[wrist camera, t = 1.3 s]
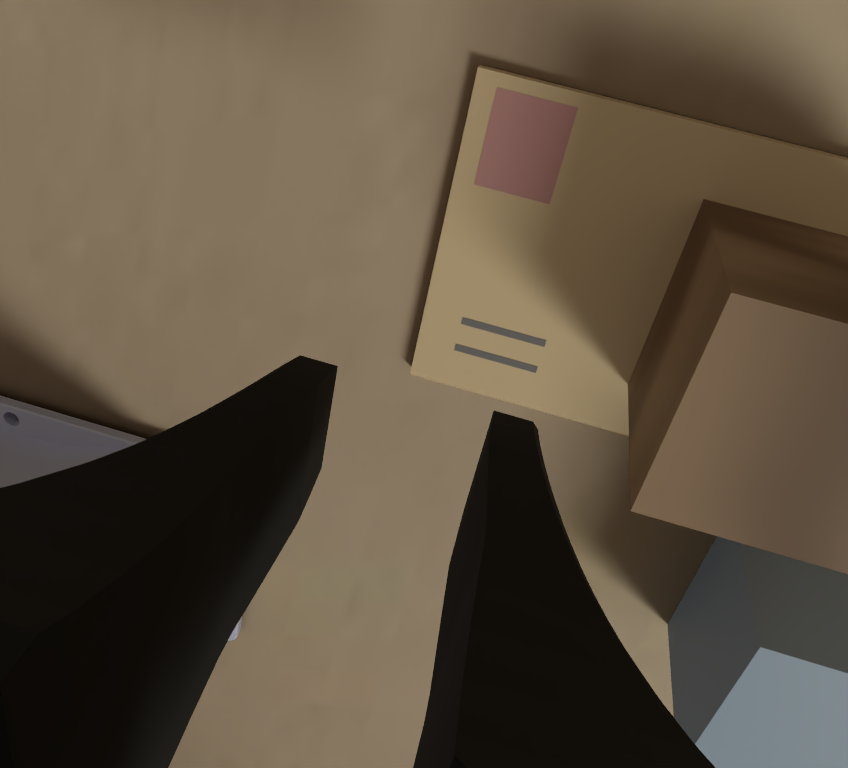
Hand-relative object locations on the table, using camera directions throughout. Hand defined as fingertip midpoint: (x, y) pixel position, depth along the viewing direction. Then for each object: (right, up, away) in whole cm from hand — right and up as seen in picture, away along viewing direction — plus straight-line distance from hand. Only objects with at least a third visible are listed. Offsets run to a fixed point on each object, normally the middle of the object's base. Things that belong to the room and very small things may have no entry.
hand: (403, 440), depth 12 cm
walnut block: (+8, +2, +6) cm, 11 cm away
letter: (+7, +3, +7) cm, 10 cm away
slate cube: (+11, -5, +11) cm, 16 cm away
